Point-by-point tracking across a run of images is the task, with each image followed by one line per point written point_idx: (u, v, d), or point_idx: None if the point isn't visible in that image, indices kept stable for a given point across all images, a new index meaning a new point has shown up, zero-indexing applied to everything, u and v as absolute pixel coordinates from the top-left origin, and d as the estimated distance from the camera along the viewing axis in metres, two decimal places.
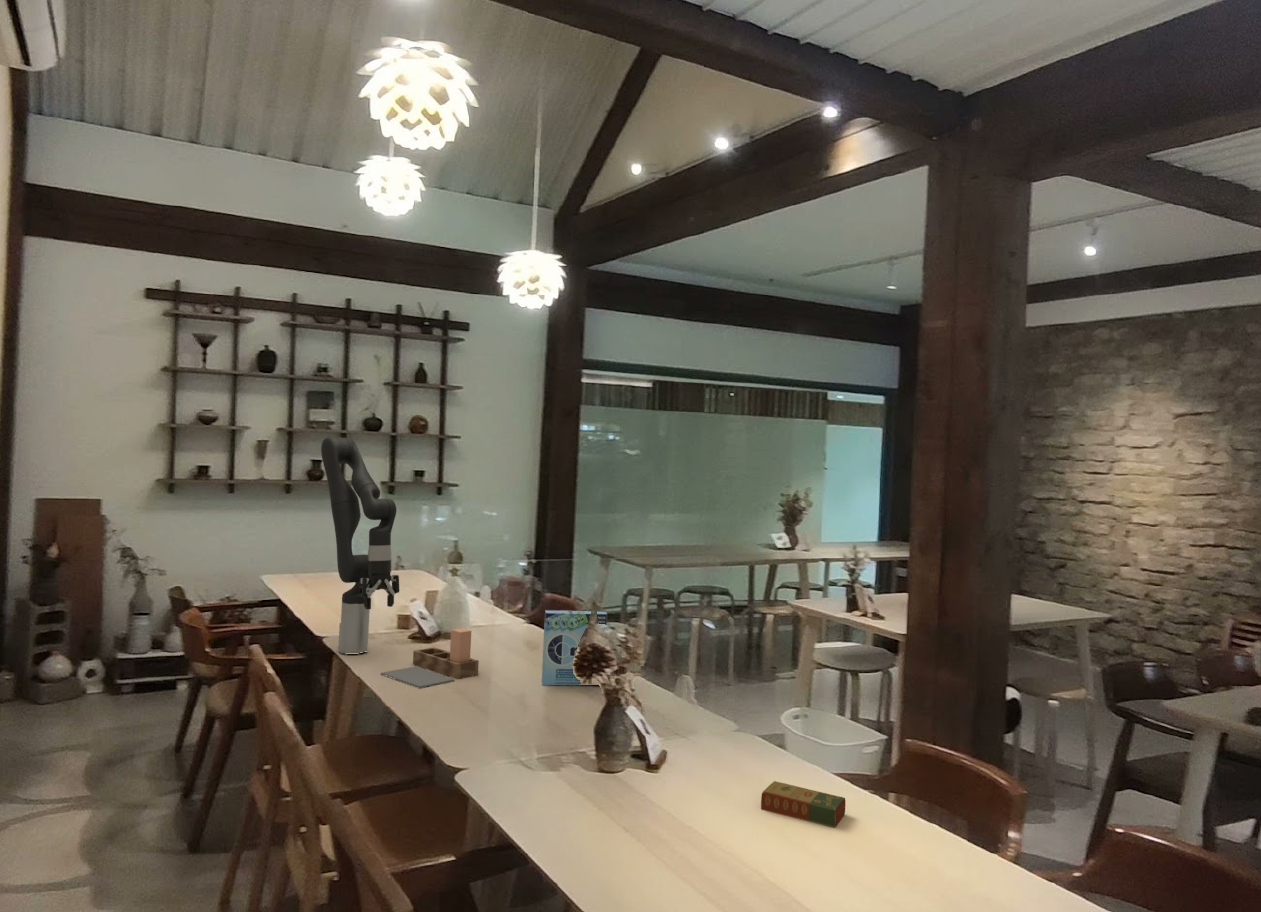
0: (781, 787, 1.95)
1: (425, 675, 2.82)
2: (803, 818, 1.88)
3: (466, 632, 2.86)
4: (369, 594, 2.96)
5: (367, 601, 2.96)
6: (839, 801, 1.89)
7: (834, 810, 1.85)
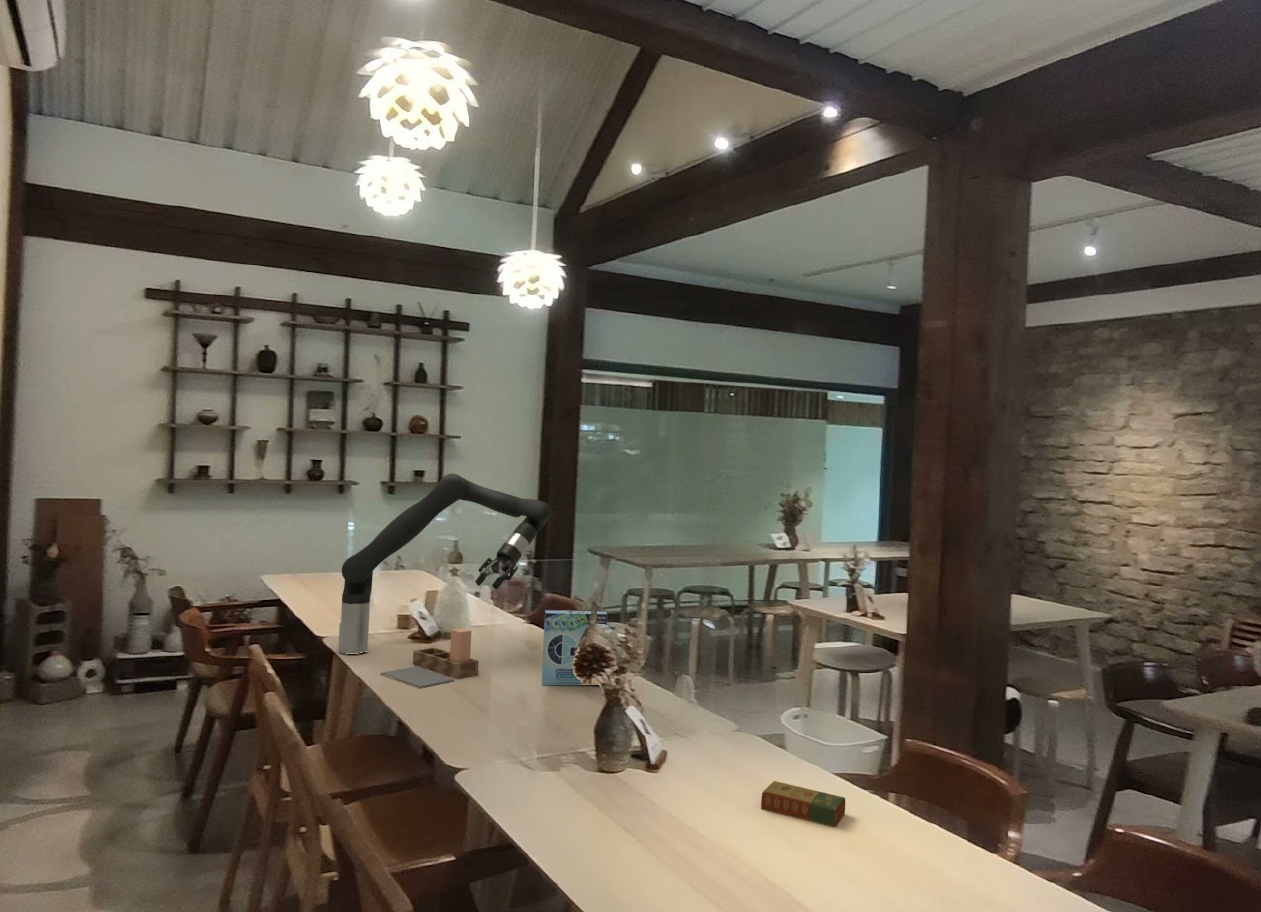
0: (781, 786, 1.95)
1: (425, 675, 2.82)
2: (803, 818, 1.88)
3: (466, 632, 2.86)
4: None
5: None
6: (839, 801, 1.89)
7: (834, 809, 1.85)
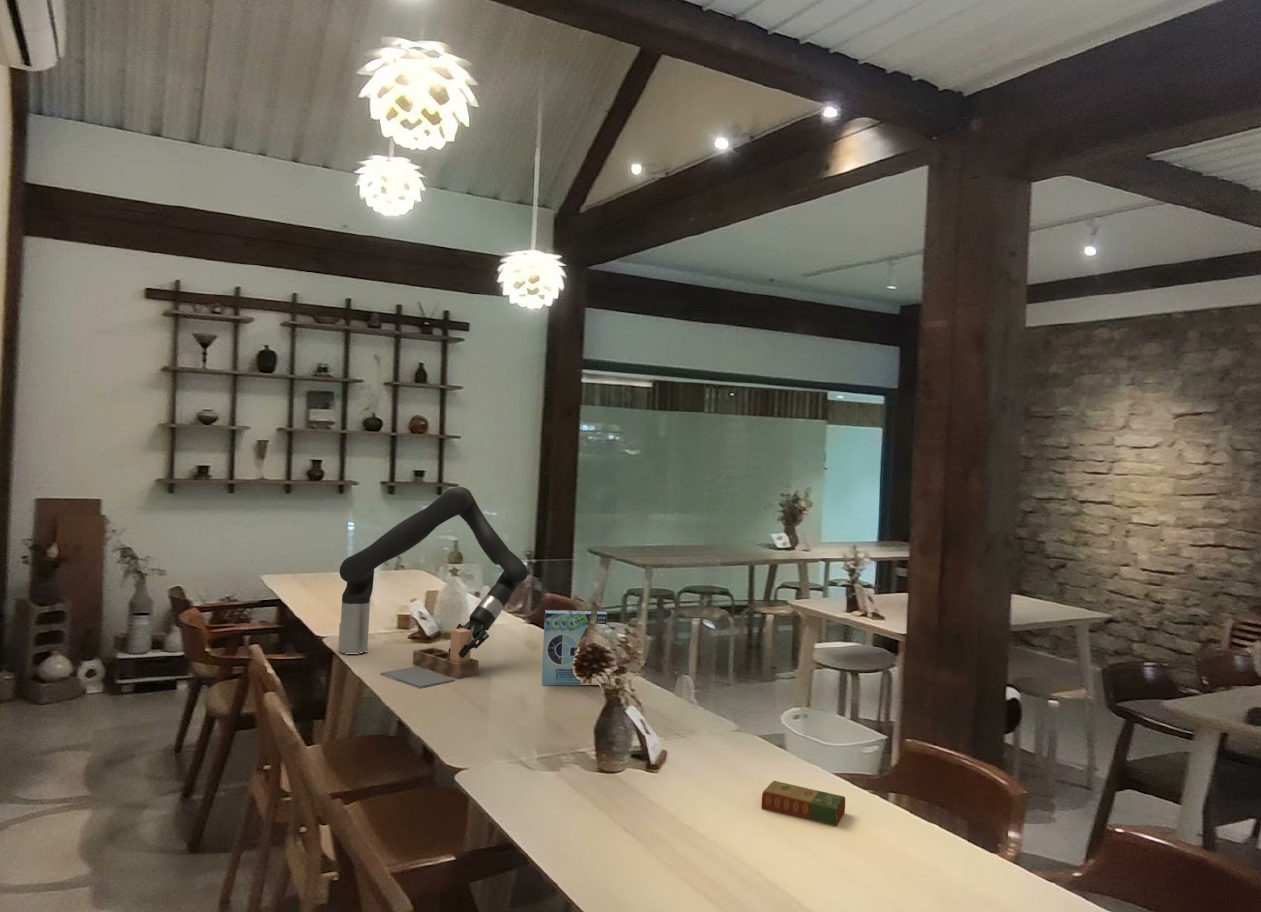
0: (781, 786, 1.95)
1: (425, 675, 2.82)
2: (804, 817, 1.88)
3: (466, 632, 2.86)
4: None
5: None
6: (839, 800, 1.90)
7: (835, 809, 1.85)
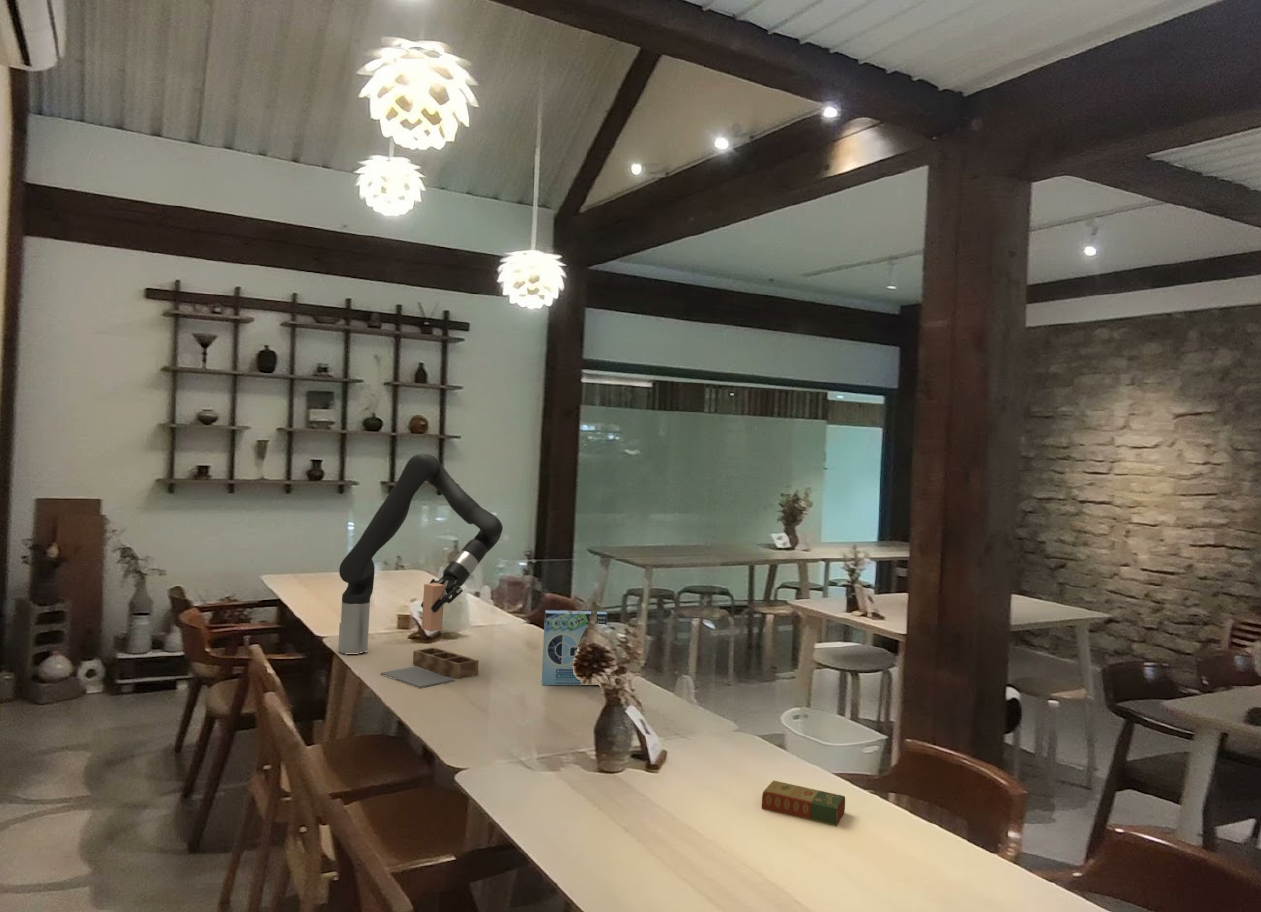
0: (781, 786, 1.95)
1: (425, 675, 2.82)
2: (804, 817, 1.88)
3: (439, 586, 2.81)
4: None
5: None
6: (839, 799, 1.90)
7: (836, 808, 1.85)
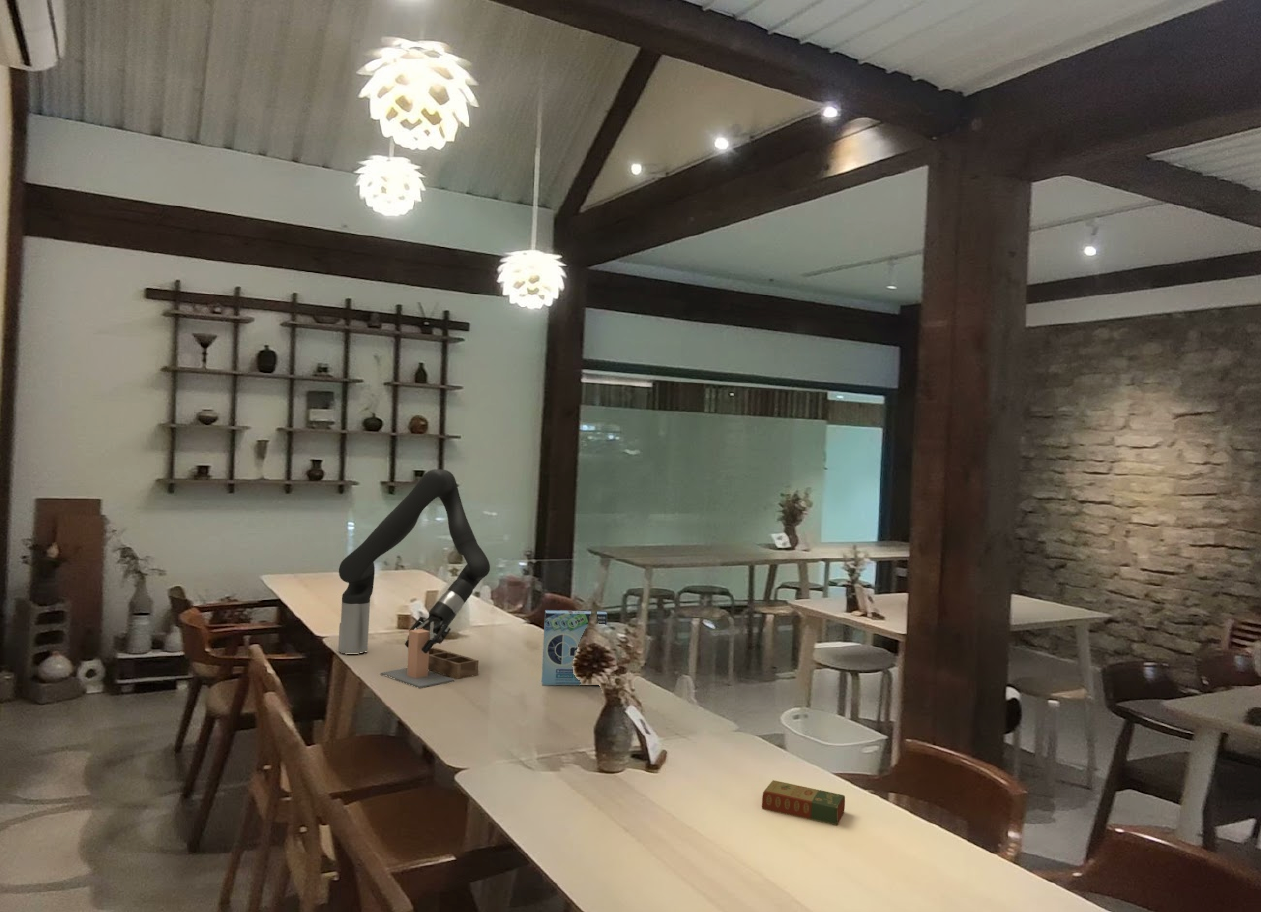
0: (781, 786, 1.95)
1: None
2: (805, 817, 1.88)
3: (424, 633, 2.79)
4: None
5: None
6: (839, 799, 1.90)
7: (836, 808, 1.86)
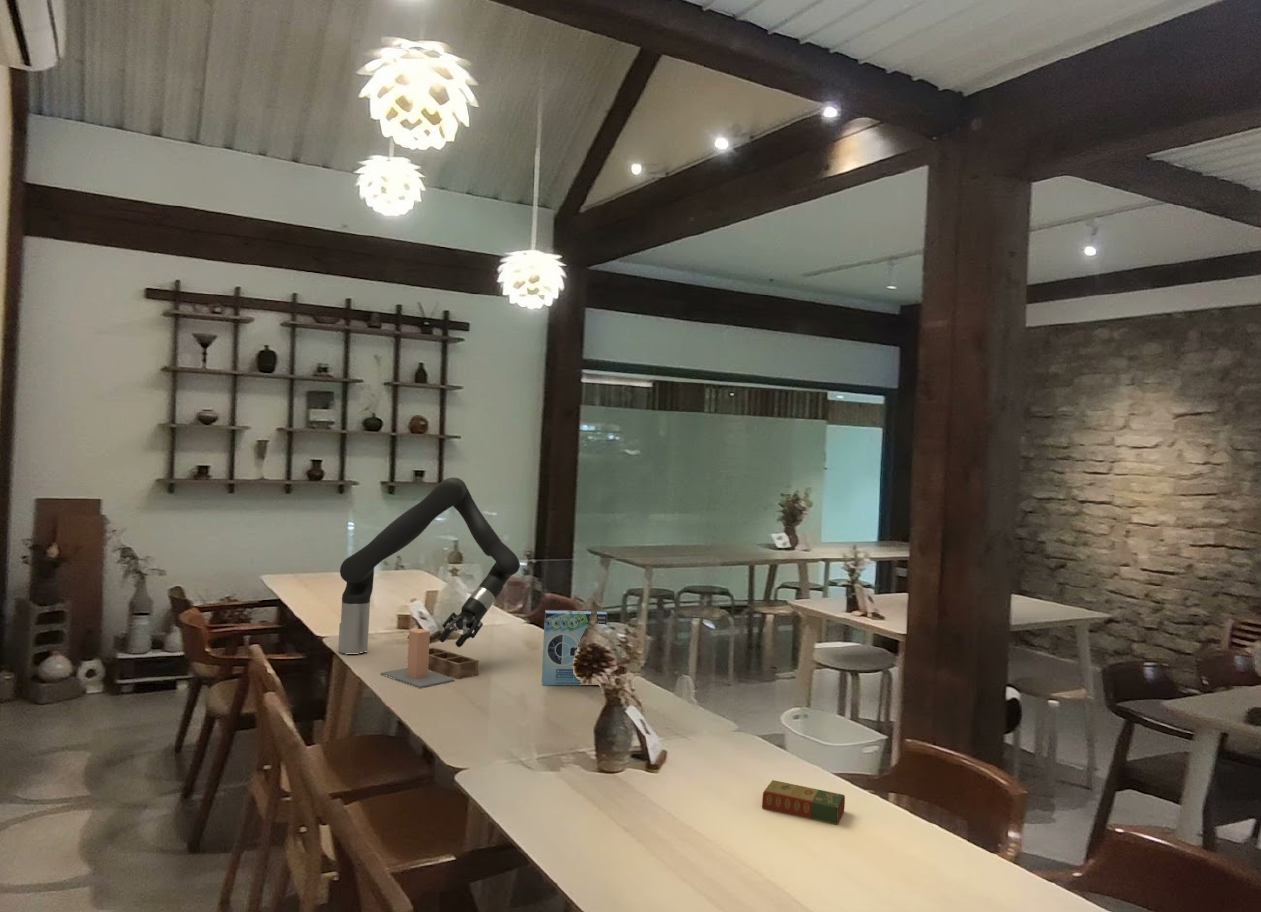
0: (781, 785, 1.95)
1: None
2: (805, 816, 1.88)
3: (424, 633, 2.79)
4: None
5: None
6: (840, 798, 1.91)
7: (837, 807, 1.86)
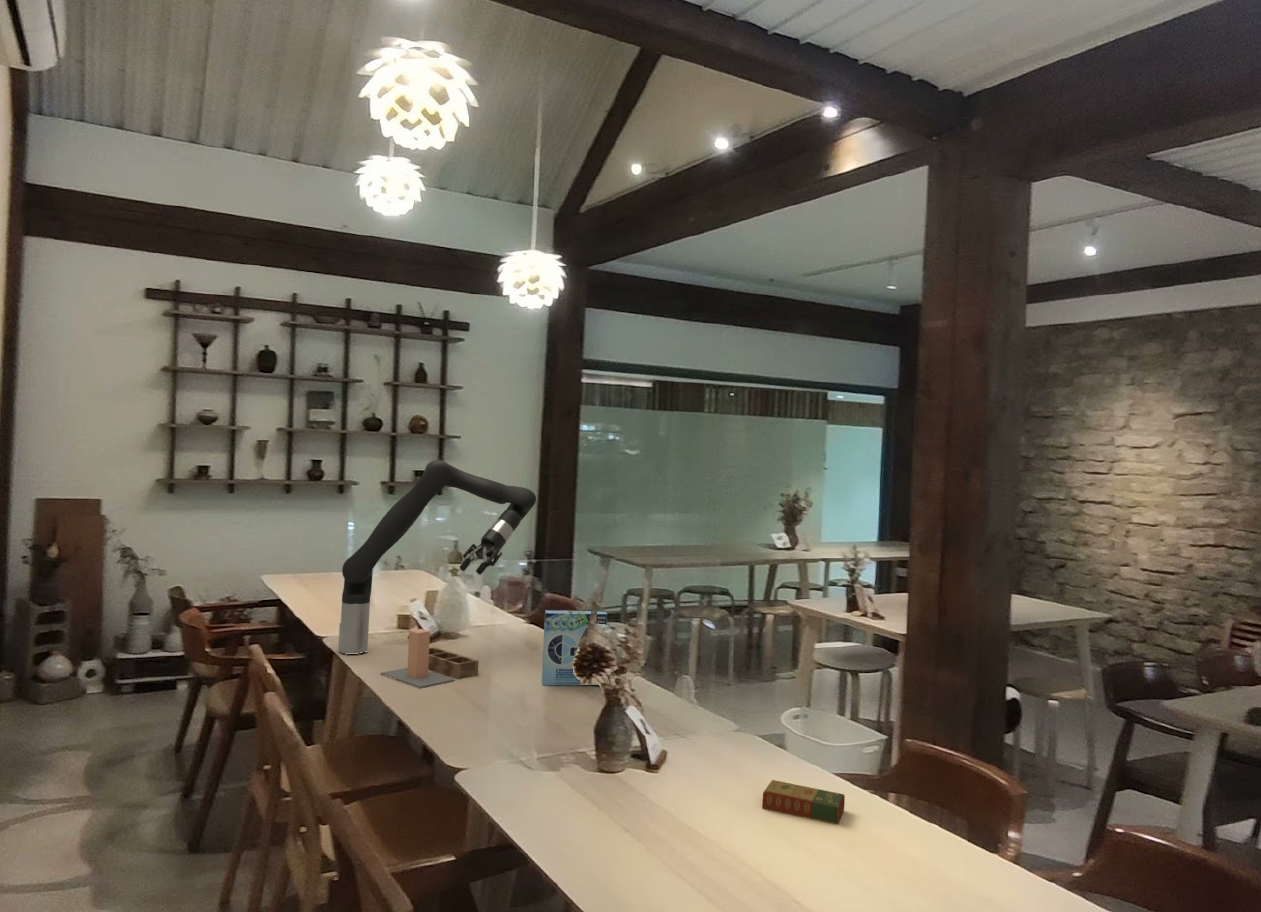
0: (781, 785, 1.96)
1: None
2: (805, 816, 1.89)
3: (424, 633, 2.79)
4: None
5: None
6: (840, 798, 1.91)
7: (837, 807, 1.86)
